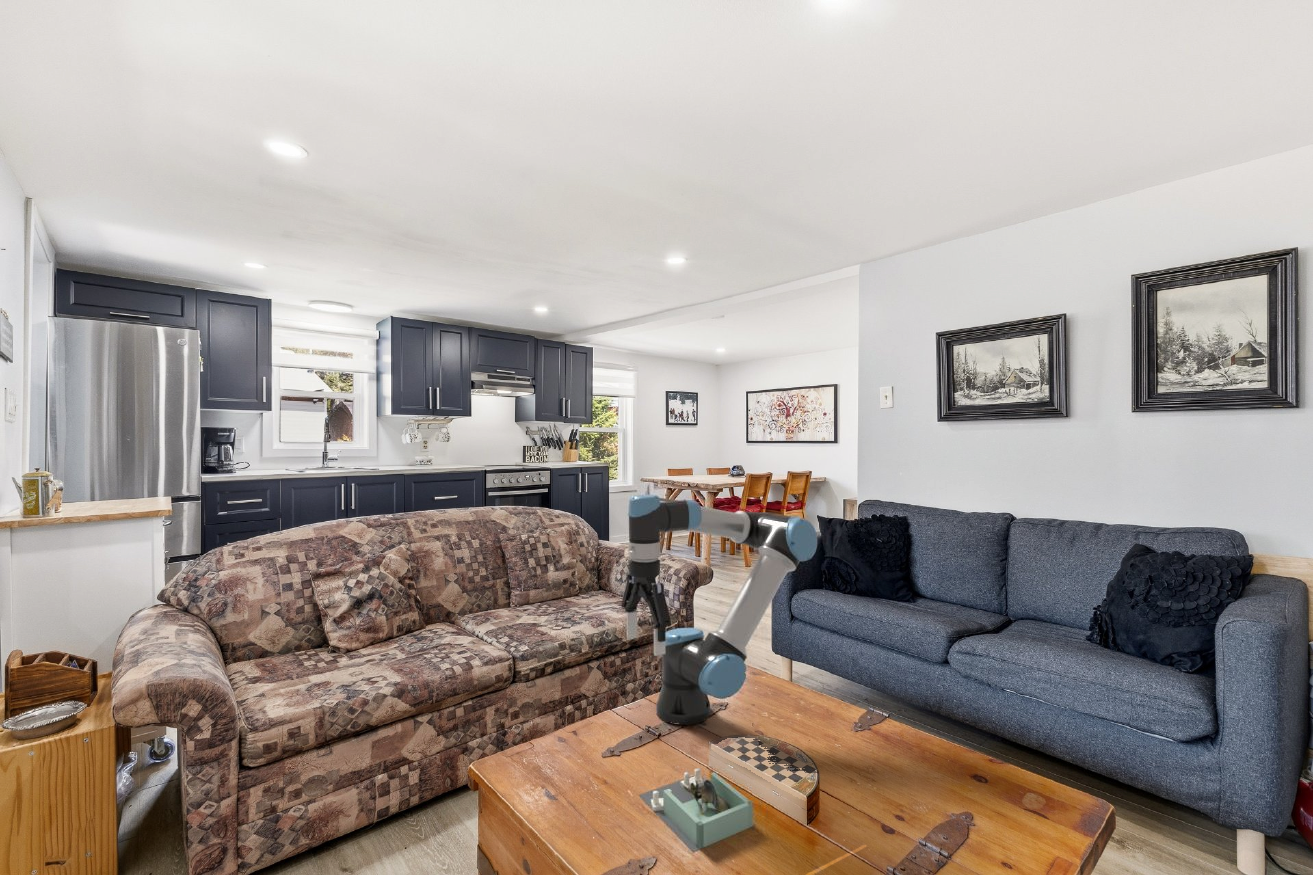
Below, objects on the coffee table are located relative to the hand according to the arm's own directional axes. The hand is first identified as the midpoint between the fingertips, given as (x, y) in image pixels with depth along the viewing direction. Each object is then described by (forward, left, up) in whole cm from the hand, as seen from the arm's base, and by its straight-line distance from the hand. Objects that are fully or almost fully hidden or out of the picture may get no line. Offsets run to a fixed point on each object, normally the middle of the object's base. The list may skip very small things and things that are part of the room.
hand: (645, 645), depth 149 cm
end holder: (+2, +28, -26) cm, 38 cm away
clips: (+3, +19, -26) cm, 32 cm away
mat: (+2, +25, -27) cm, 36 cm away
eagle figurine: (0, +27, -26) cm, 37 cm away
